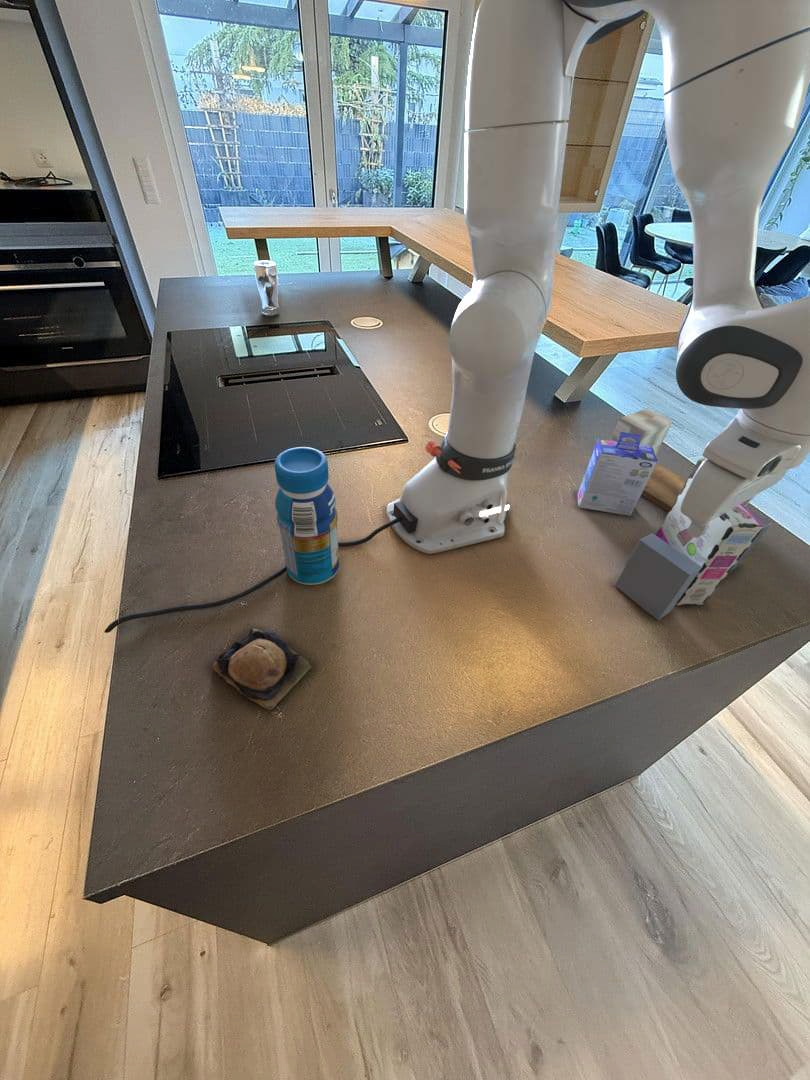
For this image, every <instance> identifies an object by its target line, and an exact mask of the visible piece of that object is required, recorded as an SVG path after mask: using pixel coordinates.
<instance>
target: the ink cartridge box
mask: <svg viewBox="0 0 810 1080" xmlns="http://www.w3.org/2000/svg"><path fill="white" fill-rule="evenodd" d="M627 437H631V438H633V439H635V440H636V443H630V442H624V441H622V438H627ZM640 440H641V435H638V434H631V433H625V432H620V435H619V438H618V441H617V442H613V441H611V440H606V439H605V440H604V439H597V440H596V442H595V446H594V448H593V451H592V455H591V457H590V460H589V462H588V466H587V468H586V471H585V474H584V476H583V479H582V482H581V484H580V487H579V490H578V491H577V503H578V505H577V506H578V508H579V509H585V510H592V511H599V512H604V513H609V514H617V515H622V516H627V517H628V516H629V517H630V516H632V514H633V513H634V509H635V508H636V506H637V503H638V502H639V499H640V497H641V496H642V492H643V490H644V487H645V485H646V483H647V481H648V480H649V478H650V476H651V474H652V472H653V470H654V468H655V466H656V464H658V458H657V454H656V455H655V452H654V450H653V448H652V447H651V446H643V445H640Z"/></svg>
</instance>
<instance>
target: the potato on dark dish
mask: <svg viewBox="0 0 810 1080" xmlns="http://www.w3.org/2000/svg"><path fill="white" fill-rule="evenodd" d="M212 666H213V667H212V669H213V670H214V672H215V673H218V675H219V677H222V679H223V680H225V682H226V683H227V684H229V685H230V686H233V687H234V688H235V689H236V690H237V692H238V693H239V694H242V695H243V696H244V697H245V698H248V699H249V700H250V701H251V702H254V703H256V704H257V705H259V706H261V707H262V708H264V709H266V710H268V711H270V710H271V711H272V710H273V709H274V708H275V707H276V706H277V704H279V703H280V702H281V701H282V699H283V698H285V696H286V695H288V693H289V692H290V691H291V690H292V689H293V688H294V686H296V685H297V683H299V682H300V680H302V678H304V676H305V675H306V674H307V673H308V672H309V671H310V670H311V669H312V666H311V663H310V662H309V661H308V660H306V659H305V658H304V657H302V656H301V654H300V653H297V652H296V651H294V650H293V649H292V648H291V647H290V646H289V644H288V642H287V641H286V640H284V639H282V638H281V637H280V636H279V635H278V634H277V632H275V631H273V630H266V631H262V630H259V629H257V628H251V629H250V631H249V632H248V633H247V634H245V635H244V636H243V637H242V638H240V639H239V640H234V642H233V643H232V645H230V647H228V648H227V649H226V650H224V651H222V653H220V655H218V656H217V657H216V658H215V662H213V665H212Z"/></svg>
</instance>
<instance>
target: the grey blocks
mask: <svg viewBox="0 0 810 1080" xmlns="http://www.w3.org/2000/svg"><path fill="white" fill-rule="evenodd" d="M746 508H747V509H748V510H749V511H750V512H751V513H752V514H753V515H754V516H755V517H756V518H757V519H758V520H759V521H760V522H761V523H762V524H763V525H764V526H765V527H764V528H763V529H762V531H761V532H760V533H759V534H758V536H757V537H756V538H755V540H754V541H753V542H752V543H751V545H750V546H749V547H748V548H747V550H746V551H745V552H744V554H743V555H742V556H741V557H740V559H739V560H738V561H737V562H736V564H735V565H734V566H733V567H732V569H731V570H730V571H729V573H731V572H732V571H734V570H735V569H736V568H738V567H739V565H740V564H741V563H742V562H743V561H744V559H745V558H746V557H747V555H748V554H750V552H751V550H752V549H753V548H754V547H755V545H756V544H757V543H758V541H759V540H760V539H761V538H762V536H763V535H764V534H765V533H766V531H768V529H769V527H771V525H772V524H773V521H771V520H770V519H767V518H766V517H764V516H762V515H760V514H758V513H757V512H756V511H754V510H751V509H750V508H748V507H746ZM701 568H702V567H701V566H700V565H698V564H697V563H695V562H694V561H692V560H691V559H689V558H688V557H687V556H685V555H684V554H682V553H681V552H679V551H678V550H676V549H675V548H673V547H672V546H670V545H669V544H668V543H666V542H665V541H663V540H662V539H660V538H659V537H657V536H656V534H654V533H653V532H652V533H650V534H648V535H646V536H644V537H642V538H640V539H639V540H638V542H637V544H636V546H635V548H634V549H633V551H632V553H631V555H630V556H629V559H628V560H627V562H626V564H625V565H624V567H623V569H622V571H621V573H620V575H619V577H618V578H617V580H616V582H615V584H614V587H616V588H617V589H618V590H620V591H621V592H622V593H623V594H625V595H626V596H627V597H628V598H629V599H631V600H632V601H633V602H634V603H636V604H637V605H638V606H639V607H641V608H642V609H643V610H644V611H645V612H647V613H648V614H649V615H651V617H653V619H656V621H659V620H661V619H663V617H665V616H667V615H668V614H670V613H671V611H672V610H673V609H674V608H675V606H676V605H675V604H676V603H677V602H678V600H679V599H680V597H681V596H682V595H683V593H684V592H685V590H686V589H687V588H688V586H689V585H690V584H691V582H692V581H693V579H694V578H695V577H696V575H697V574H698V572H699V571H700V570H701Z"/></svg>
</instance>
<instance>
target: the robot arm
mask: <svg viewBox="0 0 810 1080" xmlns="http://www.w3.org/2000/svg"><path fill="white" fill-rule="evenodd" d="M646 13H648V14H649V15H651V16H652V18H653V20H655V22H656V24H657V27H658V30H659V35H660V41H661V48H662V49H661V50H662V65H663V66H662V68H663V70H662V73H663V76H662V77H663V116H664V129H665V137H666V144H667V145H666V146H667V151H668V156H669V162H670V165H671V171H672V174H673V178H674V181H675V183H676V185H677V186H678V188H679V190H680V192H681V194H682V196H683V198H684V199H685V202H686V204H687V207H688V209H689V213H690V217H691V224H692V231H693V232H692V233H693V248H692V249H693V253H692V255H693V258H692V260H693V261H692V262H693V267H692V270H693V271H692V272H693V273H692V275H693V277H692V278H693V279H692V280H693V285H692V295H691V300H690V303H689V306H688V308H687V310H686V313H685V315H684V317H683V319H682V321H681V323H680V326H679V328H678V332H677V336H676V349H677V356H676V365H675V380H676V383H677V386H678V389H679V390H680V391H681V393H682V394H683V395H684V396H685V397H686V398H688V400H690V401H692V402H694V403H696V404H699V405H703V406H706V407H714V408H715V407H716V408H727V409H739V410H738V411H737V413H736V415H735V417H733V418H732V419H731V421H730V422H729V423H728V424H727V425H726V427H725V428H724V429H723V430H721V432H719V433H718V434H717V435H715V436H714V437H713V438H712V439H711V440H709V441H708V442H707V443H706V446H705V447H704V448H703V450H702V452H701V456H702V457H703V458H704V457H705V458H707V459H706V460H705V461H704V462H703V463H702V464H701V465H700V467H699V468H698V470H697V471H696V473H695V475H694V477H693V479H692V480H691V482H690V484H689V486H688V488H687V490H686V493H685V495H684V497H683V499H682V501H681V504H680V511H681V513H682V514H684V515H685V516H687V517H688V518H690V519H691V524H690V526H689V528H688V529H687V532H688V534H690V535H692V536H693V537H695V538H699V537H700V536H702V535H704V534H705V532H706V531H707V529H708V528H709V526H708V524H709V522H711V521H712V520H714V519H716V518H718V517H719V516H721V515H723V514H724V513H726V512H728V511H730V510H731V509H733V508H735V507H737V506H738V505H740V504H743V505H744V506H745V507H747V505H748V504H749V503H750V502H751V501H752V500H753V499H754V498H755V497H757V495H759V494H761V493H762V492H764V491H766V490H768V489H770V488H772V487H773V486H775V485H777V484H778V483H779V482H780V481H781V480H782V479H783V478H784V477H785V475H786V474H787V473H788V471H789V470H790V469H796V468H798V467H799V466H801V465H802V463H803V462H804V461H805V459H806V458H807V457H808V455H809V454H810V294H808V295H806V296H804V297H801V298H798V299H795V300H792V301H788V302H785V303H781V304H778V305H773V306H769V307H766V306H765V304H764V302H763V300H762V299H761V296H760V295H759V293H758V291H757V288H756V282H755V281H756V280H755V273H756V272H755V271H756V260H757V248H758V235H759V226H760V225H759V222H760V214H761V208H762V204H763V199H764V196H765V193H766V190H767V187H768V185H769V182H770V181H771V180H770V179H771V178H772V175H773V174H774V171H775V170H776V168H777V166H778V165H779V162H780V161H781V159H782V158H783V156H784V155H785V153H786V152H787V149H788V148H789V147H790V145H791V143H792V142H793V140H794V139H795V136H796V133H797V130H798V127H799V124H800V121H801V116H802V113H803V110H804V105H805V103H806V102H805V101H806V98H807V94H808V89H809V87H810V0H481V1H480V3H479V5H478V8H477V12H476V16H475V21H474V28H473V32H472V33H473V34H472V41H471V47H470V48H471V49H470V55H469V64H468V74H467V83H466V84H467V85H466V96H465V97H466V99H465V121H464V124H465V125H464V129H465V131H467V132H465V133H464V203H463V204H464V205H463V206H464V207H463V208H464V211H463V212H464V215H463V216H464V222H465V224H466V227H467V231H468V237H469V243H470V252H471V260H472V272H473V277H472V287H471V289H470V292H468V293H467V294H466V295H465V296H464V297H463V298H462V300H461V301H460V303H459V304H458V306H457V309H456V311H455V313H454V315H453V319H452V321H451V327H450V331H449V337H448V338H449V339H448V343H449V350H450V354H451V373H452V394H451V395H452V396H451V398H452V399H451V404H450V413H449V419H448V428H447V432H446V433H445V435H444V437H443V439H442V441H441V443H440V445H438V444H437V443H436V442H435V441H434V440H430V441H428V442H427V443H426V445H425V447H424V449H425V452H426V453H428V454H430V456H431V457H433V459H432V460H431V461H429V462H428V463H427V464H426V465H425V466H424V467H423V468H421V470H420V471H418V472H417V473H416V474H415V475H414V476H413V477H412V478H410V479H409V480H408V481H407V482H406V483H405V484H404V486H403V488H402V490H401V494H400V497H399V498H398V499H396V500H394V501H392V502H389V504H387V506H386V510H385V511H386V512H385V513H386V519H387V522H385V523H384V524H382V525H380V526H379V527H377V528H375V530H373V531H372V532H371V533H370V534H368V535H367V536H365V537H363V538H360V539H357V540H352V541H338V548H339V547H341V548H342V547H352V546H353V547H354V546H359V545H362V544H365V543H367V542H369V541H371V539H373V538H374V537H375V536H377V535H378V534H379V533H381V532H382V531H384V530H386V529H387V528H390V527H391V528H392V529H393V531H394V532H395V533H396V534H397V535H398V536H399V537H400V538H401V539H402V540H403V541H404V542H405V543H406V544H407V545H409V546H410V547H411V548H413V549H415V550H417V551H419V552H421V553H423V554H426V555H434V554H438V553H443V552H446V551H450V550H454V549H458V548H462V547H463V548H464V547H467V546H470V545H474V544H475V545H476V544H479V543H483V542H486V541H491V540H495V539H499V538H502V537H504V535H505V530H506V527H505V519H506V517H507V511H508V510H510V504H507V496H508V483H509V482H508V481H509V471H510V470H511V468H512V466H513V463H514V461H515V453H516V449H517V444H516V440H517V435H518V430H519V427H520V423H521V418H522V415H523V412H524V411H523V410H524V407H525V403H526V396H527V390H528V385H529V380H530V375H531V370H532V366H533V361H534V357H535V352H536V350H537V346H538V343H539V339H540V337H541V334H542V331H543V329H544V327H545V324H546V322H547V321H548V320H547V319H548V317H549V316H550V312H551V309H552V299H553V289H554V278H555V266H556V253H557V252H556V251H557V238H558V220H559V208H560V198H561V191H562V181H563V173H564V164H565V158H566V157H565V156H566V150H567V149H566V147H567V138H568V131H569V122H566V121H570V113H571V103H572V94H573V87H574V79H575V74H576V70H577V65H578V62H579V59H580V55H581V53H582V50H583V49H584V46H585V45H592V44H595V43H596V42H598V41H600V40H602V39H603V38H605V37H606V36H608V35H610V34H612V33H613V32H615V31H617V30H620V29H621V28H623V27H625V26H627V25H629V24H631V23H632V22H634V21H636V20H637V19H639V18H640V17H642V16H644V15H645V14H646ZM286 572H287V568H286V565H285V566H283V567H282V568H281V569H279V570H278V571H276V572H275V573H272V574H271V575H269V576H268V577H266V578H264V579H263V580H261V581H259V582H258V583H256V584H254V585H253V586H251V587H249V588H247V589H245V590H243V591H240V592H239V593H236V594H233V595H230V596H228V597H225V598H221V599H219V600H214V601H210V602H201V603H194V604H185V605H176V606H170V607H164V608H160V609H155V610H154V609H153V610H147V611H142V612H136V613H135V612H134V613H130V614H127V615H124V616H121V617H119V618H117V619H115V620H113V621H112V622H111V623H110V624H109V625H108V626H107V627H106V628H105V630H104V631H103V633H104V634H108V633H111V632H112V631H113V630H114V629H115V628H116V627H118V626H119V625H121V624H123V623H126V622H128V621H132V620H137V619H142V618H149V617H155V616H161V615H166V614H172V613H177V612H183V611H194V610H204V609H210V608H214V607H215V608H216V607H218V606H219V607H220V606H222V605H225V604H226V605H227V604H229V603H232V602H235V601H237V600H240V599H242V598H244V597H246V596H248V595H250V594H252V593H254V592H256V591H257V590H259V589H261V588H262V587H264V586H266V585H268V584H269V583H271V582H272V581H274V580H275V579H277V578H279V577H281V576H282V575H284V574H285V573H286ZM118 619H119V623H118Z"/></svg>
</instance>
